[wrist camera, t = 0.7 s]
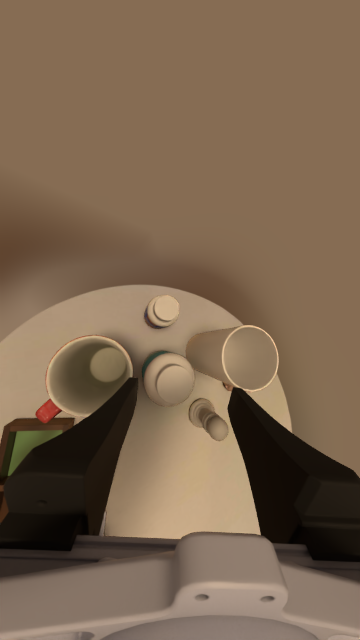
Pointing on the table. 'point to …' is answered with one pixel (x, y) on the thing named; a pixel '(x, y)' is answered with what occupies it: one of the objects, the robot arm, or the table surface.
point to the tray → (24, 445)
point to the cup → (235, 356)
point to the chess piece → (208, 419)
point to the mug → (84, 376)
